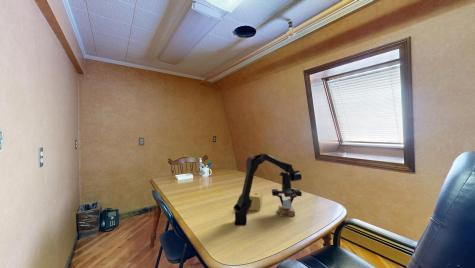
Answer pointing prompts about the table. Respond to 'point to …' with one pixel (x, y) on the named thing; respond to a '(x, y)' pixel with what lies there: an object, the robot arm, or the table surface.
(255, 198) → the cheese
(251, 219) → the table surface
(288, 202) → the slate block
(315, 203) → the table surface
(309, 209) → the table surface
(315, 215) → the table surface
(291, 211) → the pedestal
